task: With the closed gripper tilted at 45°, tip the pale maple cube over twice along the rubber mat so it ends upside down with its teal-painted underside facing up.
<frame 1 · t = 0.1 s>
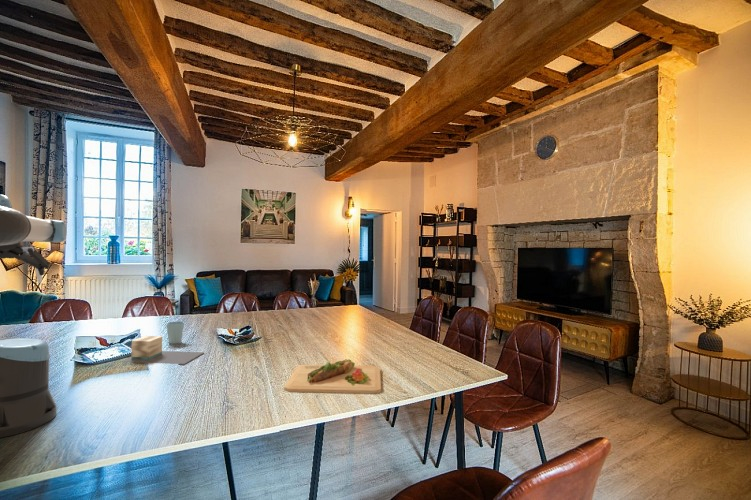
hand: (15, 281, 121), 36 cm above the table, tool tilted 35°, fingers open, 13 cm apart
rubber mat: (164, 357, 143), on the table
maple cube: (147, 356, 144), resting on rubber mat
cutting board: (335, 381, 125), on the table
cup: (175, 343, 165), on the table
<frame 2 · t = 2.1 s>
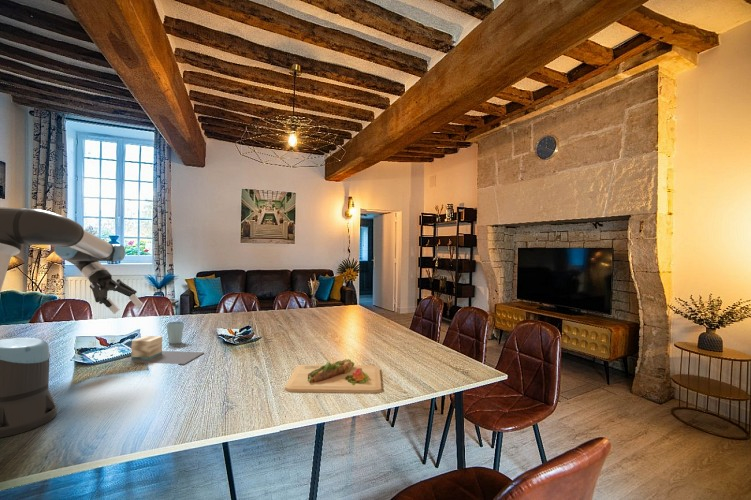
hand: (129, 308, 144), 22 cm above the table, tool tilted 45°, fingers open, 12 cm apart
nothing on the table moved.
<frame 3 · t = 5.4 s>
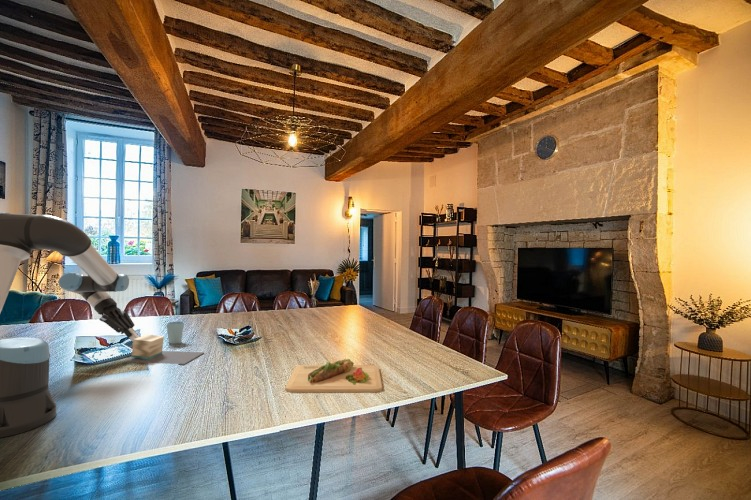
hand: (137, 340, 144), 7 cm above the table, tool tilted 45°, fingers closed
maple cube: (147, 355, 144), point 1 cm above the table, tilted 5°, touching gripper, rubber mat
everything else where it was.
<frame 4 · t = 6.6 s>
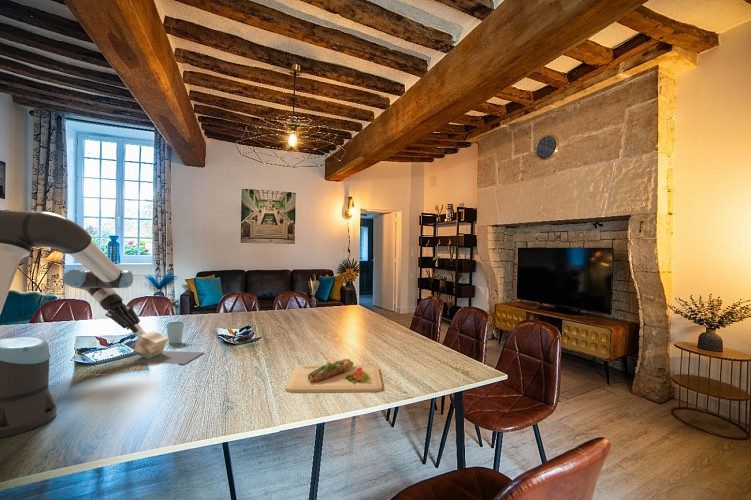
hand: (143, 336, 144), 9 cm above the table, tool tilted 45°, fingers closed
maple cube: (147, 352, 143), point 2 cm above the table, tilted 22°, touching rubber mat
everything else where it was.
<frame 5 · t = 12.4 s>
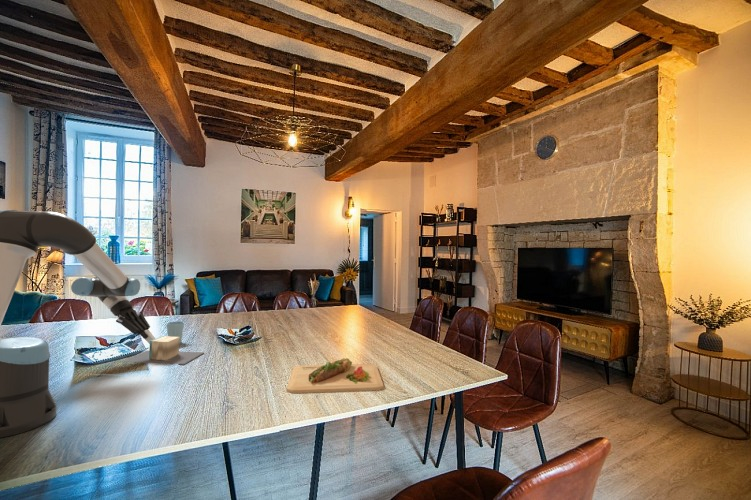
hand: (153, 342, 143), 7 cm above the table, tool tilted 45°, fingers closed
maple cube: (156, 347, 143), point 5 cm above the table, tilted 91°, touching gripper, rubber mat
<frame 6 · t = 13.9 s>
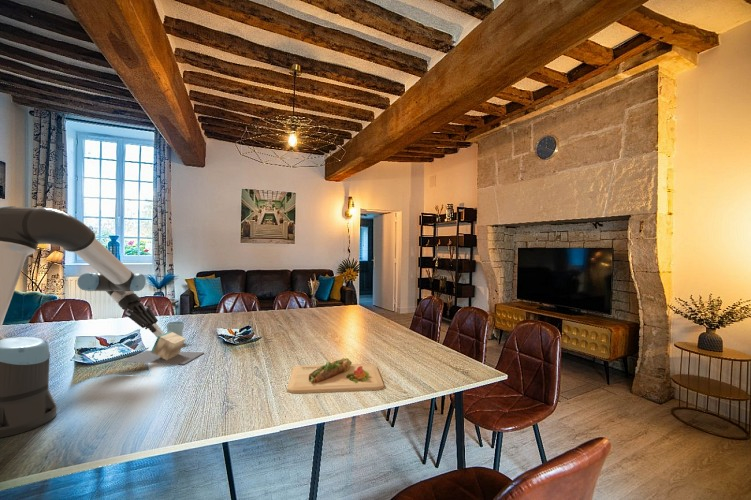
hand: (161, 336, 143), 10 cm above the table, tool tilted 45°, fingers closed
maple cube: (160, 341, 143), point 7 cm above the table, tilted 114°, touching rubber mat
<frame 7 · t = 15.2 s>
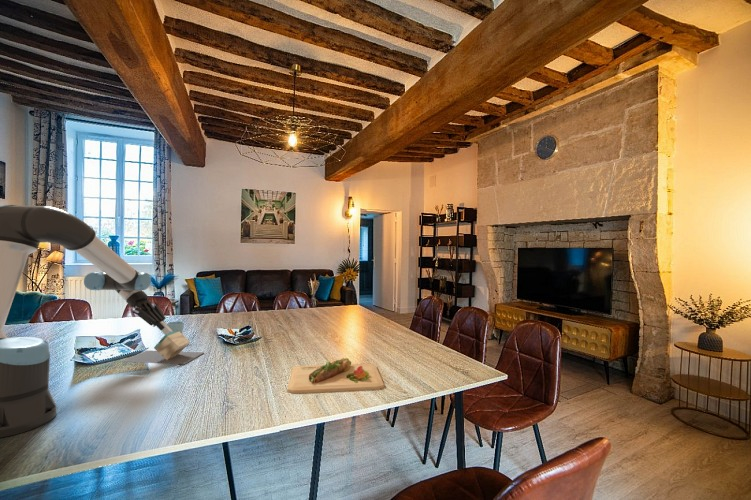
hand: (169, 333, 143), 11 cm above the table, tool tilted 45°, fingers closed
maple cube: (166, 338, 143), point 9 cm above the table, tilted 131°, touching gripper, rubber mat
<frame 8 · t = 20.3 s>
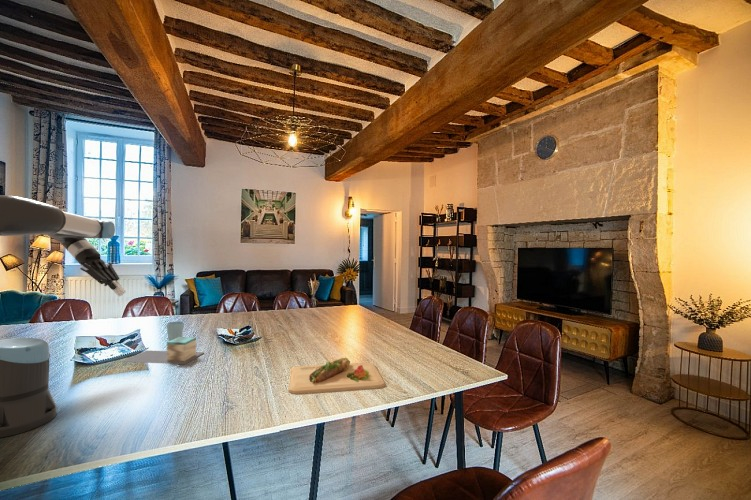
hand: (122, 293, 134), 30 cm above the table, tool tilted 45°, fingers closed
maple cube: (181, 339, 143), point 8 cm above the table, tilted 180°, touching rubber mat
at the end: maple cube tilted 180°; maple cube inside the target area (0.2 cm from its centre), point 8.5 cm above the table; the gripper is holding nothing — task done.
